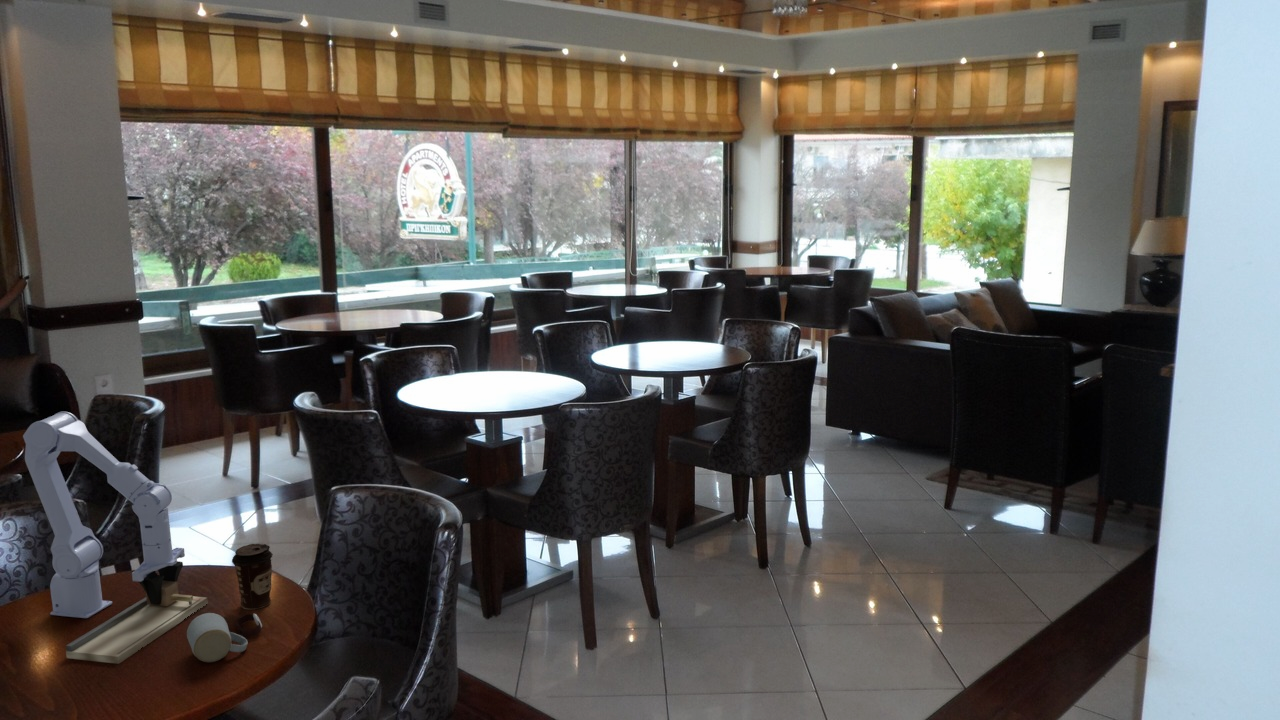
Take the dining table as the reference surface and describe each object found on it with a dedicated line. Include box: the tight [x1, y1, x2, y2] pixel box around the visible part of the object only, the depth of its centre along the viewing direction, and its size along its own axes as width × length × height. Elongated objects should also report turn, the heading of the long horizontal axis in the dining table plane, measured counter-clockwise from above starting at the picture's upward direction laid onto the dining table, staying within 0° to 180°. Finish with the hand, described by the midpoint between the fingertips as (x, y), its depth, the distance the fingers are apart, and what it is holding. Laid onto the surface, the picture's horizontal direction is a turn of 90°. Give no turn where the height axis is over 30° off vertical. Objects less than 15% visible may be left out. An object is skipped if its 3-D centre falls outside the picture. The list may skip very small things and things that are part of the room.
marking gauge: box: [145, 581, 194, 606], centre depth 221 cm, size 10×4×4 cm, turn 78°
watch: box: [236, 613, 263, 638], centre depth 211 cm, size 8×5×4 cm, turn 38°
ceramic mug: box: [186, 612, 249, 663], centre depth 201 cm, size 11×8×8 cm
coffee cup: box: [231, 543, 274, 611], centre depth 223 cm, size 9×8×13 cm
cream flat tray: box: [65, 595, 209, 664], centre depth 212 cm, size 12×28×3 cm, turn 168°
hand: (162, 599), depth 222 cm, fingers closed on marking gauge, 4 cm apart
